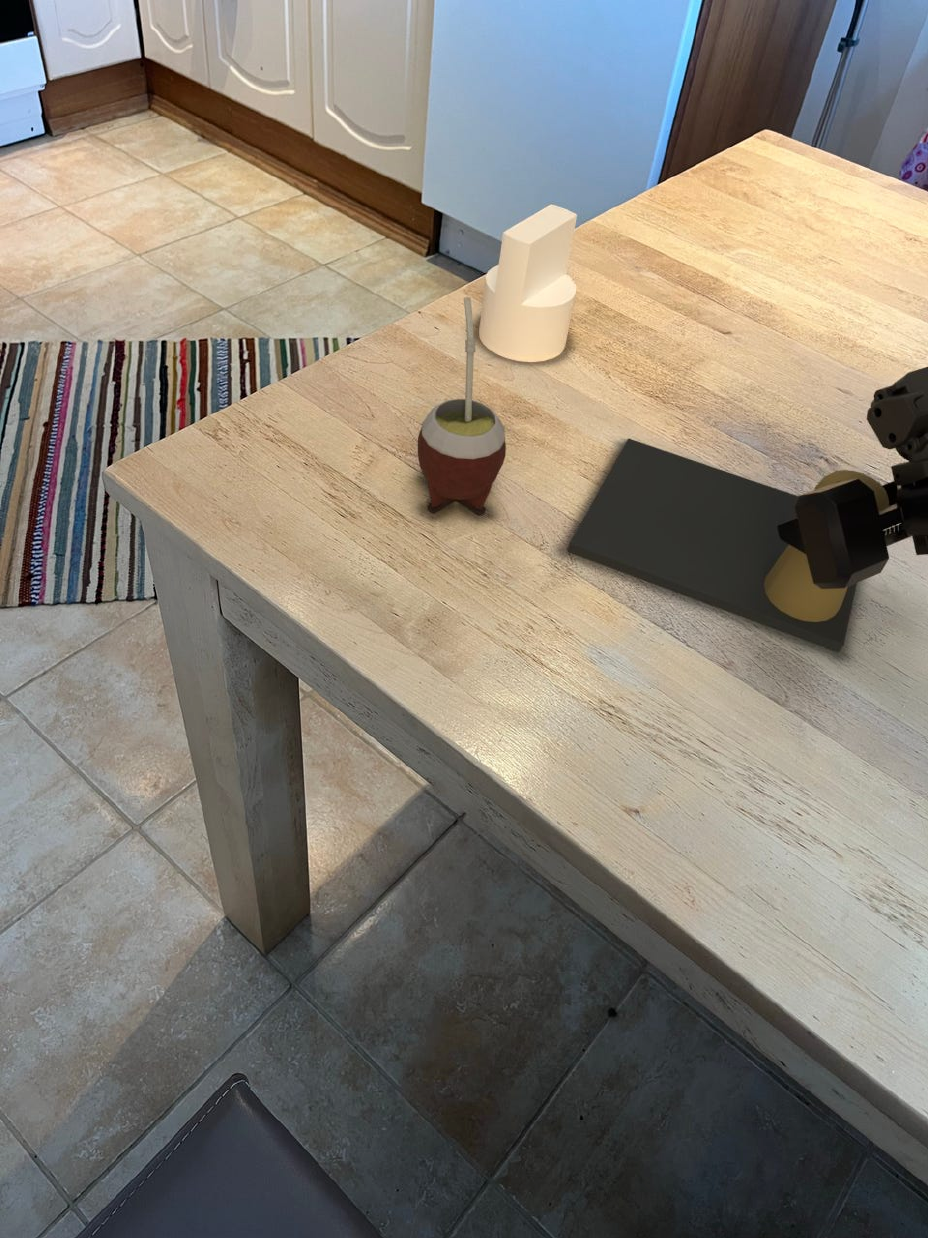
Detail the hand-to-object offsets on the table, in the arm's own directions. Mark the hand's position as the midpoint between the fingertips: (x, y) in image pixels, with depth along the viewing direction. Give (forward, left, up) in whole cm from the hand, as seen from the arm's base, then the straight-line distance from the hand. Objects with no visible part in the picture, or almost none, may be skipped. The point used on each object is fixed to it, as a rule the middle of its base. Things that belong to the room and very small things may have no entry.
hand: (819, 516), depth 70 cm
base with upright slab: (+32, -23, -8) cm, 40 cm away
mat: (+6, -3, -8) cm, 10 cm away
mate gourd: (+28, +3, -8) cm, 29 cm away
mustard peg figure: (-1, +1, -7) cm, 7 cm away
